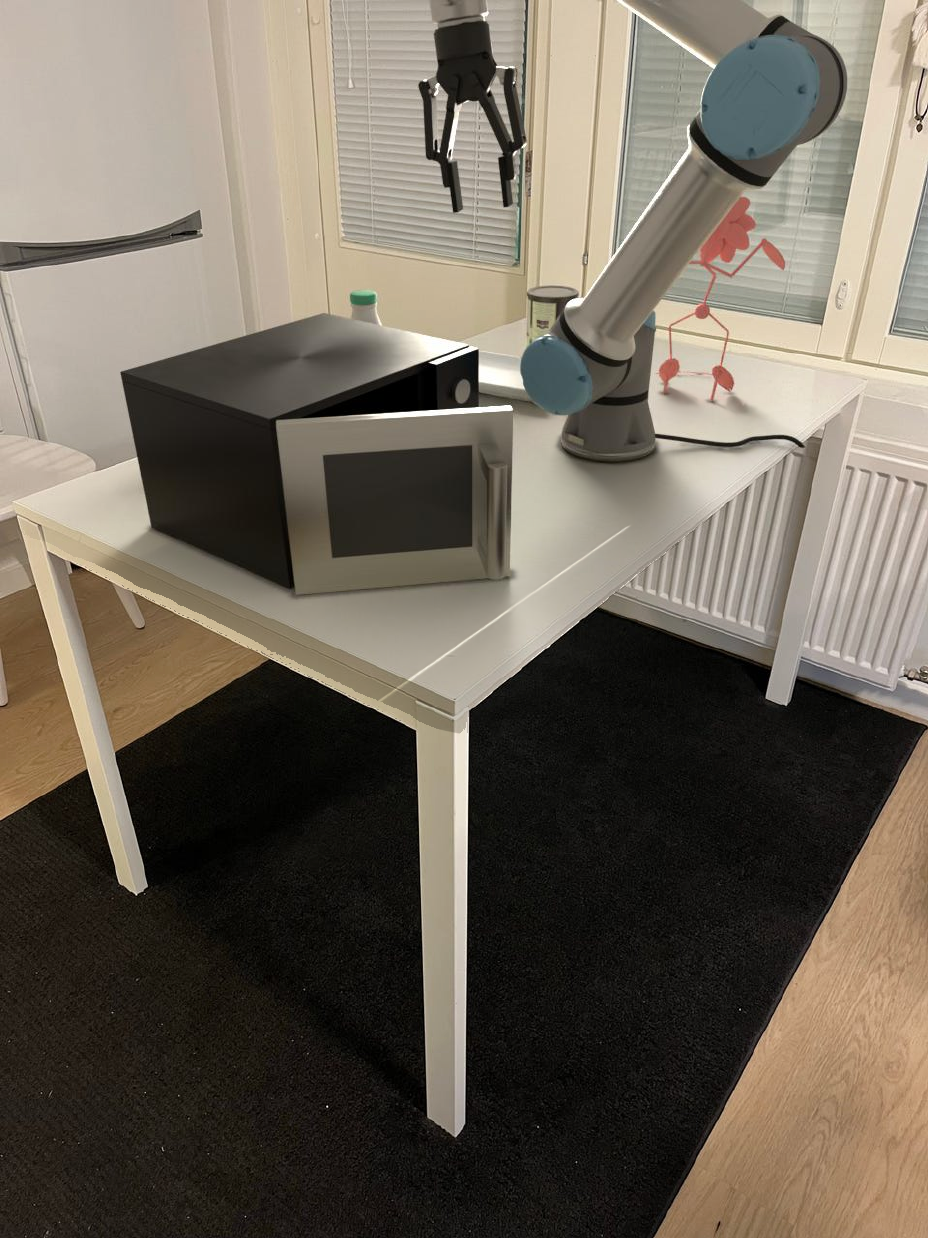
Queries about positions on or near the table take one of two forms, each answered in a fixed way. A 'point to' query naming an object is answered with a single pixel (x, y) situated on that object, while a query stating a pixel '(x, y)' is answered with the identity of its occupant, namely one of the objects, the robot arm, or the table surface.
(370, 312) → the milk bottle
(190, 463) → the microwave
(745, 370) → the table surface
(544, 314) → the coffee can
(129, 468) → the table surface
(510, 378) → the tray
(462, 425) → the microwave door
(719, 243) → the figurine
